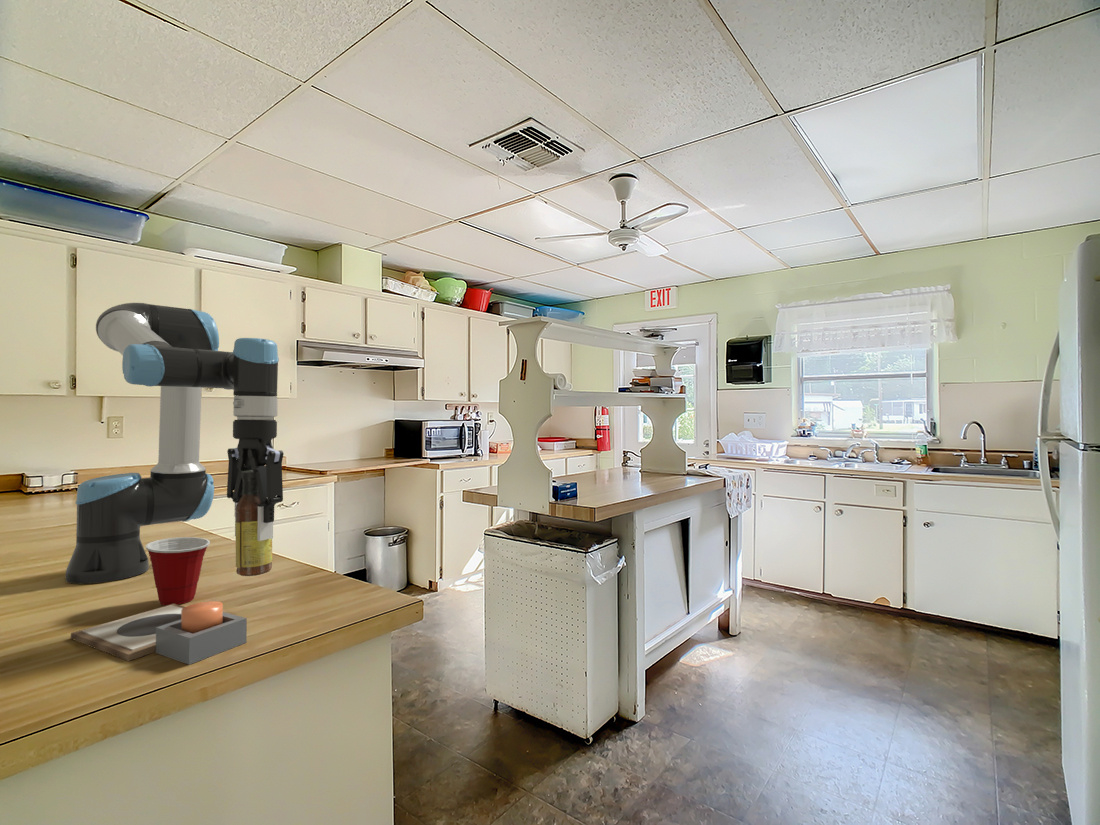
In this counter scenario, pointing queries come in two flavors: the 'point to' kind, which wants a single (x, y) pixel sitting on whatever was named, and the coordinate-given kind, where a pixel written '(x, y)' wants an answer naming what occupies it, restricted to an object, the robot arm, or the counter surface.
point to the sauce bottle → (250, 531)
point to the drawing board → (129, 632)
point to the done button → (201, 616)
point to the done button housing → (200, 639)
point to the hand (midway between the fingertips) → (253, 536)
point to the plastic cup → (177, 567)
